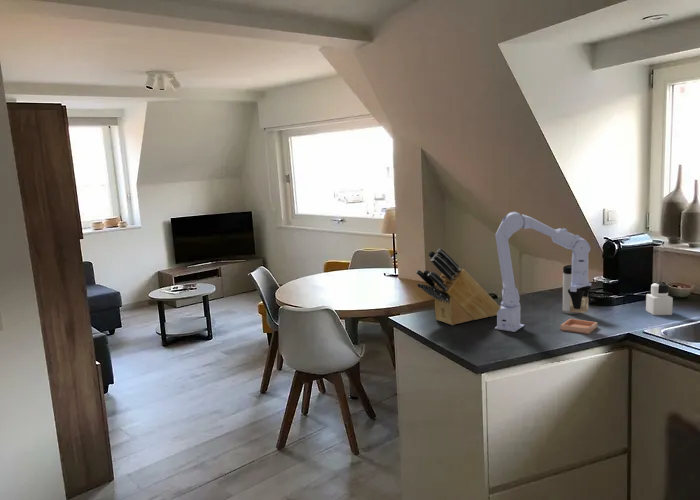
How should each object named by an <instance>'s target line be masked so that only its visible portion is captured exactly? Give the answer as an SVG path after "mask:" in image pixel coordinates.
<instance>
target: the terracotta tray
mask: <svg viewBox="0 0 700 500" xmlns="http://www.w3.org/2000/svg"><path fill="white" fill-rule="evenodd" d="M596 329H598V321H597V322H596V321H589V320H584V319H577V318H576V319H575V318H569V319H567V320H566V321H564V322H562V323H561V324H560V331H565V332H571V333H575V334H585V335H590V334H591V333H592V332H594V331H595V330H596Z"/></svg>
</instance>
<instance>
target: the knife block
mask: <svg viewBox="0 0 700 500" xmlns="http://www.w3.org/2000/svg"><path fill="white" fill-rule="evenodd" d="M428 256H429V257H430V258H431V259H430V260H429V261H430V262H431V263H432V264H433V265H434V266H435V267H436V268H437V269H438V271H439V272H440V273H441V274H440V275H439V274H437V273H435V272H434V271H429V270H426V269H425V270H424V271H421V270H420V269H418V270H416V271H415V274H417V275H418V276H419V277H420V279H422V280H423V281H424V282H425V283H427V284H428V285H427V284H422V283H417V284H416V285H417V287H418V288H420V289H422V290H423V291H424V292H425V293H426V294H427V295H429V296H430V297H432V298H433V299H434V312H435V320H437V321H438V322H443V323H445V324H448V325H451V326H455V325H457V324H463V323H466V322H470V321H475V320H480V319H485V318H488V317H489V318H490V317H491V318H492V317H495V316H497V312H498V310H499V309H500V307H501V305H499V304H498V302H496V301H495V300H494V298H492V296H490V294H488V292H487V291H486V290H485V289H484V288H483V287H482V286H481V285H480V284H479V283H478V281H476V280H475V279H474V278H473V277H472V275H470V273H469V272H467V271H466V269H465V268H461V267H460V266H459V264H458V263H456V261H454V259H453V258H452V257H451V256H450V255H449V254H448V253H447V252H445V250H443V249H441V248H438V249H437V250H436V252H434V251H432V250H431V251H429V253H428Z"/></svg>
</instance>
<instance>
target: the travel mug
mask: <svg viewBox="0 0 700 500" xmlns="http://www.w3.org/2000/svg"><path fill="white" fill-rule="evenodd" d="M571 278H572V264H568V265H564V266H563V269H562V313H564V314H566V315H577V314H580V313H579V312H571V311H570V298H571V297H570V295H569V293H568V289H570V286H571Z"/></svg>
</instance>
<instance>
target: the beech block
mask: <svg viewBox="0 0 700 500" xmlns="http://www.w3.org/2000/svg"><path fill="white" fill-rule="evenodd" d="M570 311H571V312H579V313H578V314H585V313H586V312H588V311H589V296H587V297H584V296H583V297H582V301H581V307H580V309H574V307H573V303H572V299H571V298H570Z"/></svg>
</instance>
